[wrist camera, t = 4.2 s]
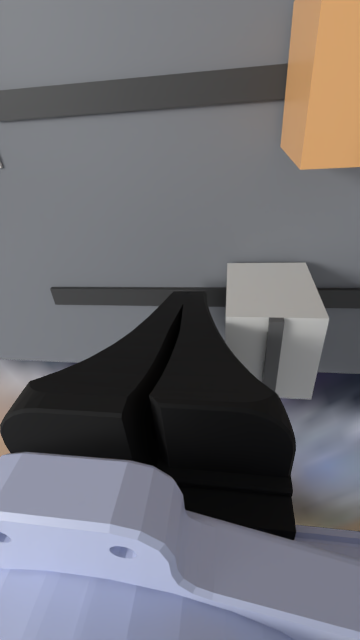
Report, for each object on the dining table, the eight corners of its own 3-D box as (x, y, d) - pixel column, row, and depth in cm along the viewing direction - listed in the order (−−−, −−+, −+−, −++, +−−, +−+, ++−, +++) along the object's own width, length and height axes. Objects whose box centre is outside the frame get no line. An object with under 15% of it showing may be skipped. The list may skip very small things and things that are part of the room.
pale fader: (294, 333, 14) (312, 404, 11) (226, 331, 14) (224, 399, 11) (305, 262, 12) (331, 322, 9) (227, 263, 12) (225, 320, 9)
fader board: (445, 348, 16) (473, 381, 14) (9, 336, 19) (-14, 361, 17) (706, -172, 7) (860, -259, 6) (-157, -29, 11) (-235, -54, 9)
